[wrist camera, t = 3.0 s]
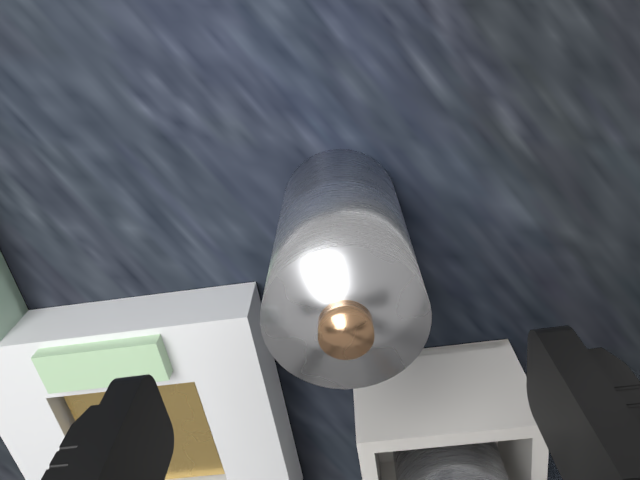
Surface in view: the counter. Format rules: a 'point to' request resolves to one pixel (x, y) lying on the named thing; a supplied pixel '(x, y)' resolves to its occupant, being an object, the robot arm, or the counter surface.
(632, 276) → the counter surface
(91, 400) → the contact plate
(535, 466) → the white open box sleeve
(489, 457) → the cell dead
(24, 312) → the trough
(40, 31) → the counter surface
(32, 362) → the frame
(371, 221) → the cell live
